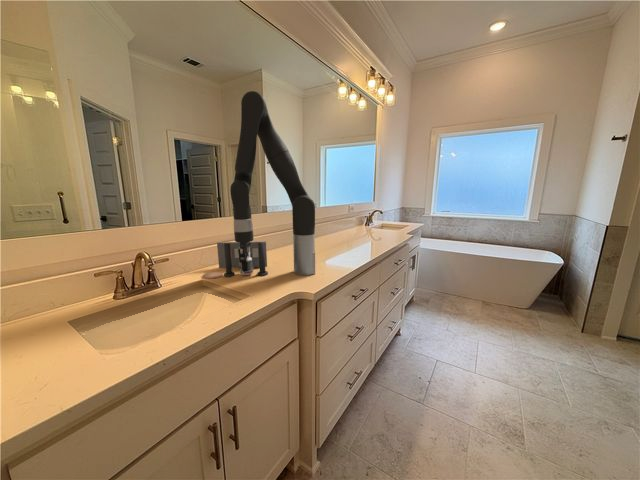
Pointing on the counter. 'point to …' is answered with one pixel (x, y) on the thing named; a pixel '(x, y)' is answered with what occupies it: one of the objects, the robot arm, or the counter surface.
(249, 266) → the pill bottle
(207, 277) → the coaster
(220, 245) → the panel
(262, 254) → the post
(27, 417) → the counter surface
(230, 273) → the post
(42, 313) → the counter surface
